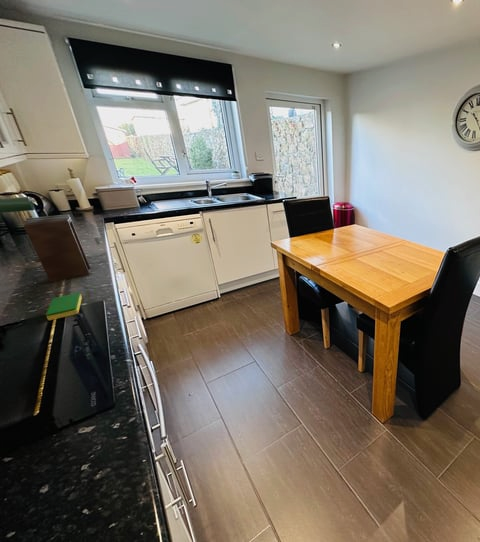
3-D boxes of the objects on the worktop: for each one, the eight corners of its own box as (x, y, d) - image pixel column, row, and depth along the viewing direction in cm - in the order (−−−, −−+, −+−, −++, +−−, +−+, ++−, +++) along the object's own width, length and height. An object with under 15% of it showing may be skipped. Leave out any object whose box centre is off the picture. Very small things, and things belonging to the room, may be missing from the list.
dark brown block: (50, 282, 114) (21, 222, 104) (53, 274, 121) (27, 217, 111) (90, 275, 121) (66, 218, 111) (90, 268, 128) (69, 213, 118)
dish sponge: (48, 321, 90) (45, 315, 89) (55, 303, 100) (52, 297, 99) (78, 314, 94) (75, 308, 93) (82, 298, 104) (79, 292, 103)
